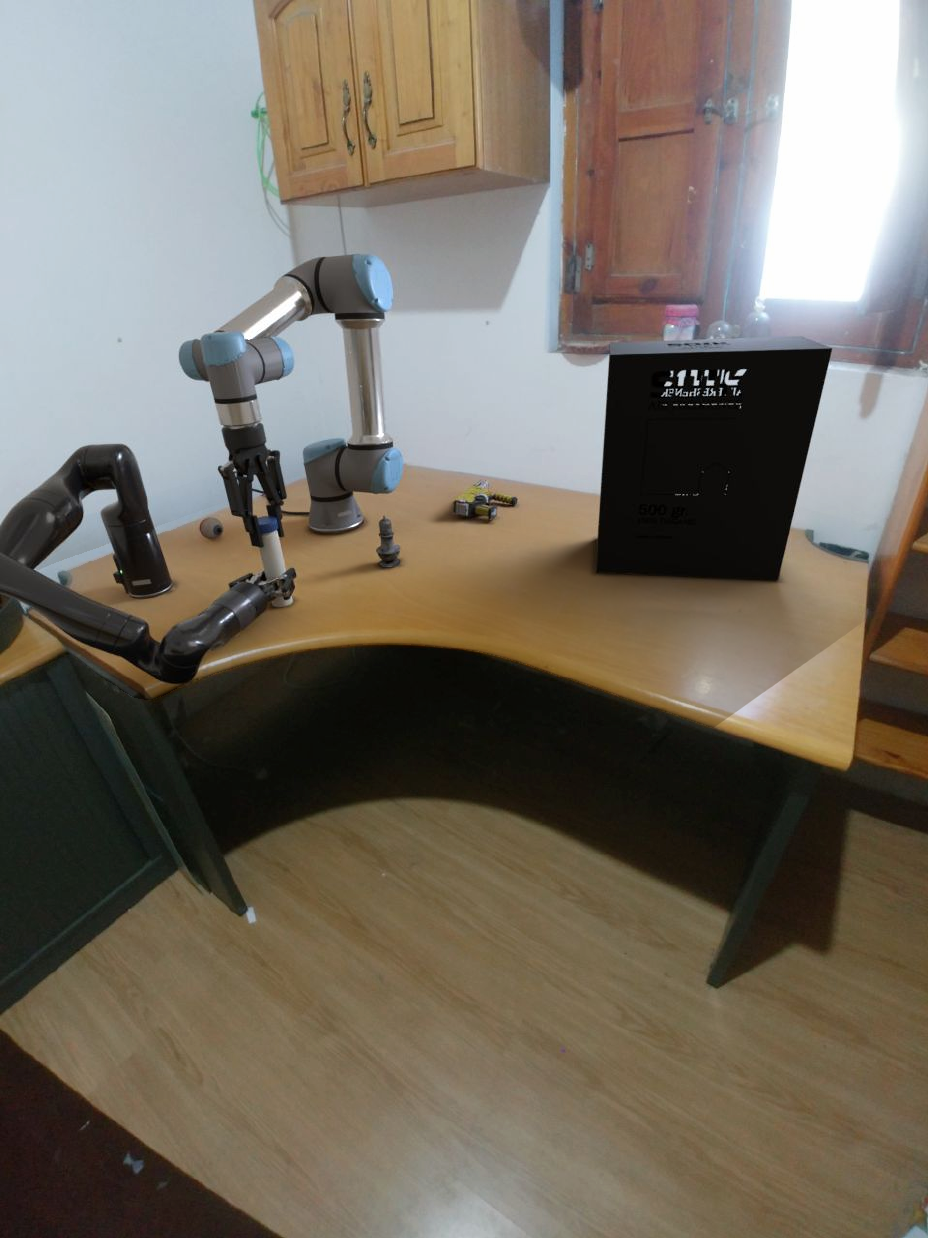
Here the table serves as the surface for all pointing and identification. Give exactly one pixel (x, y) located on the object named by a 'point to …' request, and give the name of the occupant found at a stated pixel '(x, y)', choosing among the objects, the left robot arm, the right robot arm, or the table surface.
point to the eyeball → (211, 528)
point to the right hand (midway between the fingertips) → (268, 540)
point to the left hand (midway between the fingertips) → (283, 570)
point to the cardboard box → (705, 455)
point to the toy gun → (480, 501)
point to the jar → (273, 562)
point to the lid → (268, 524)
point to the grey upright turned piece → (387, 545)
